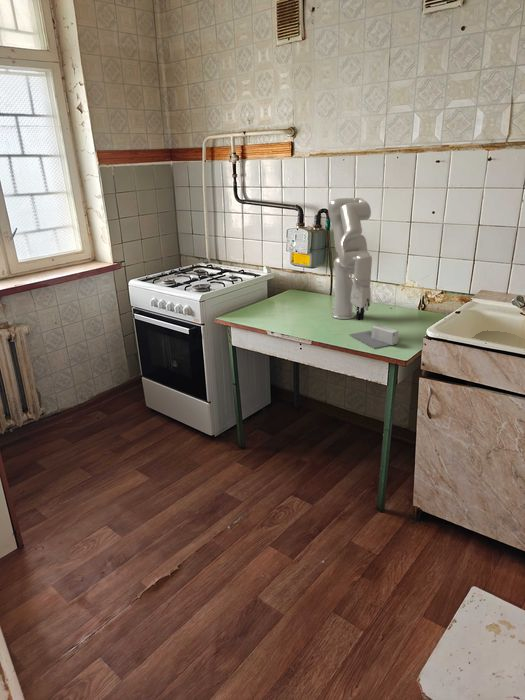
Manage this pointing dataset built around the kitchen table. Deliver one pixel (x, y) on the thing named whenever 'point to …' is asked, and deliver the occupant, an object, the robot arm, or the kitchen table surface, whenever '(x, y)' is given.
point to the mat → (369, 339)
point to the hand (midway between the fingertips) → (359, 319)
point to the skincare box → (385, 334)
